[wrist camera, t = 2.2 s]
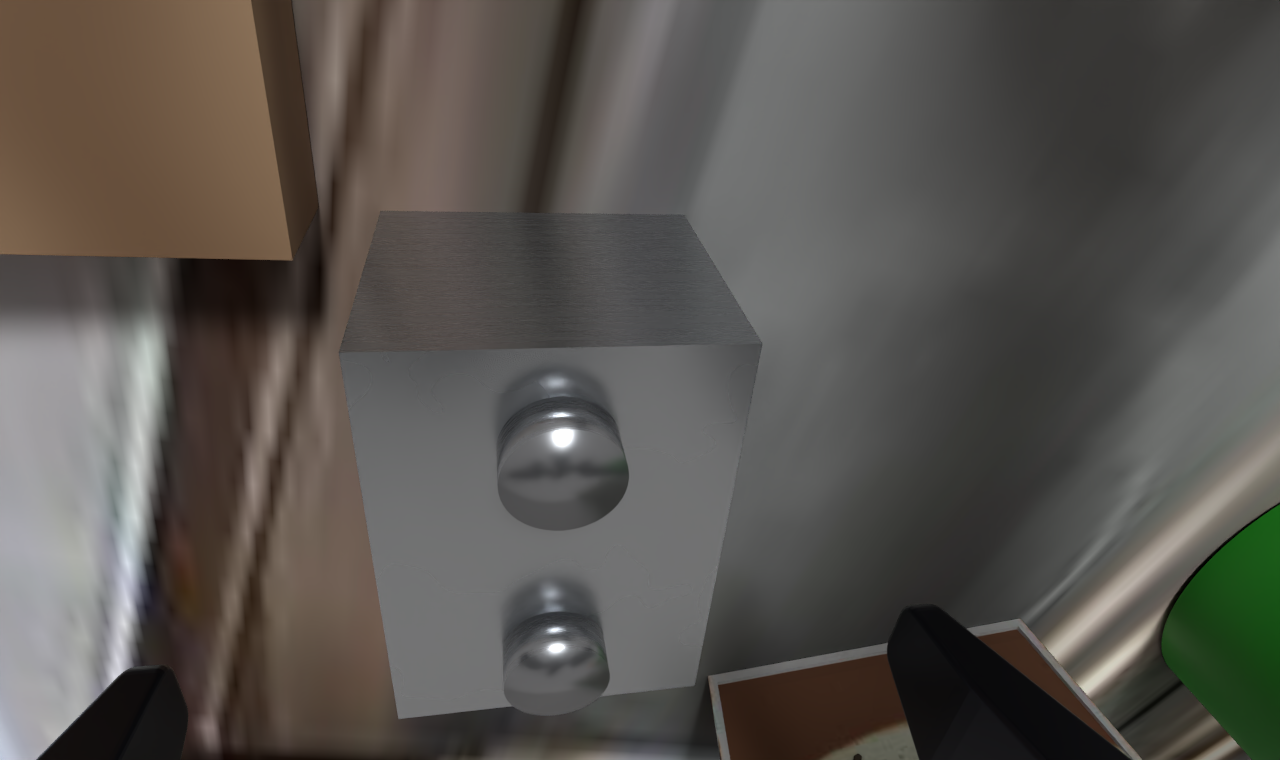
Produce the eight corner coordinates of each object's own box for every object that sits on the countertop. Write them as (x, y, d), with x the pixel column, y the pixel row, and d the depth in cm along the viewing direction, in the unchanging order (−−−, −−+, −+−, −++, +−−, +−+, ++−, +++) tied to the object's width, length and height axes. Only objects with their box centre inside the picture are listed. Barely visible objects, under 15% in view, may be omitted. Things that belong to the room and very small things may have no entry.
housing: (682, 211, 13) (780, 374, 9) (647, 509, 17) (704, 722, 13) (381, 207, 12) (328, 387, 8) (417, 523, 16) (394, 760, 12)
